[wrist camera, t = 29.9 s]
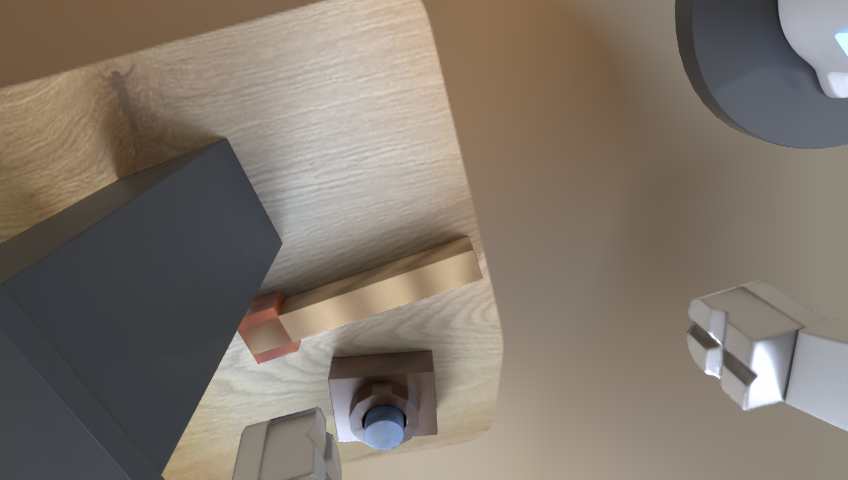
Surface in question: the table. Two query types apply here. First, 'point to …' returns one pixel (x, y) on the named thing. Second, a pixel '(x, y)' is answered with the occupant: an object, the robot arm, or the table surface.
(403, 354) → the button base
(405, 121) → the table surface
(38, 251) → the stand
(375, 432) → the plunger
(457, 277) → the stick
